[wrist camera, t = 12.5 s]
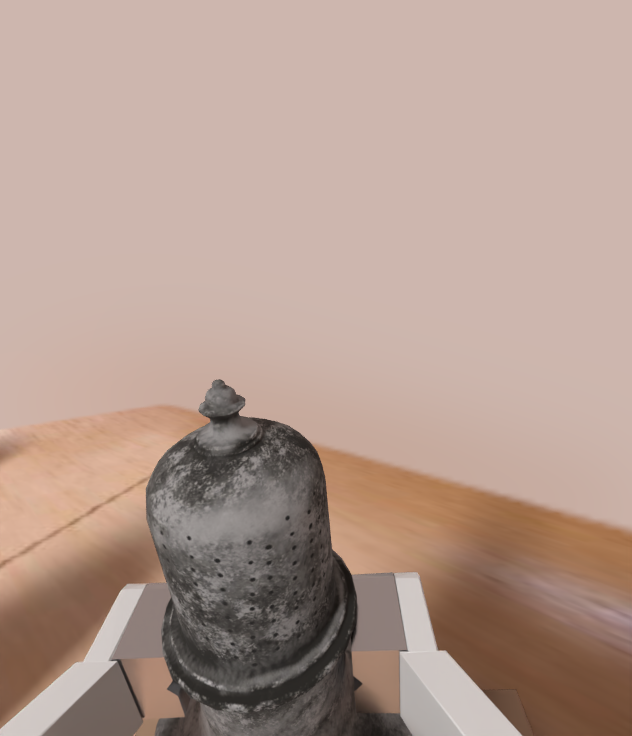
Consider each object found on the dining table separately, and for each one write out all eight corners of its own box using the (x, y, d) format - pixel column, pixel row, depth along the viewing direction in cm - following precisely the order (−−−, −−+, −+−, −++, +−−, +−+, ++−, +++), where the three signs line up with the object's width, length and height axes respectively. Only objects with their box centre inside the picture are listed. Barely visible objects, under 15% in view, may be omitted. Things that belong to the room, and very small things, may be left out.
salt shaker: (214, 680, 13) (114, 334, 9) (394, 673, 13) (388, 311, 9) (143, 1009, 8) (-217, 554, 3) (447, 1006, 8) (506, 510, 3)
